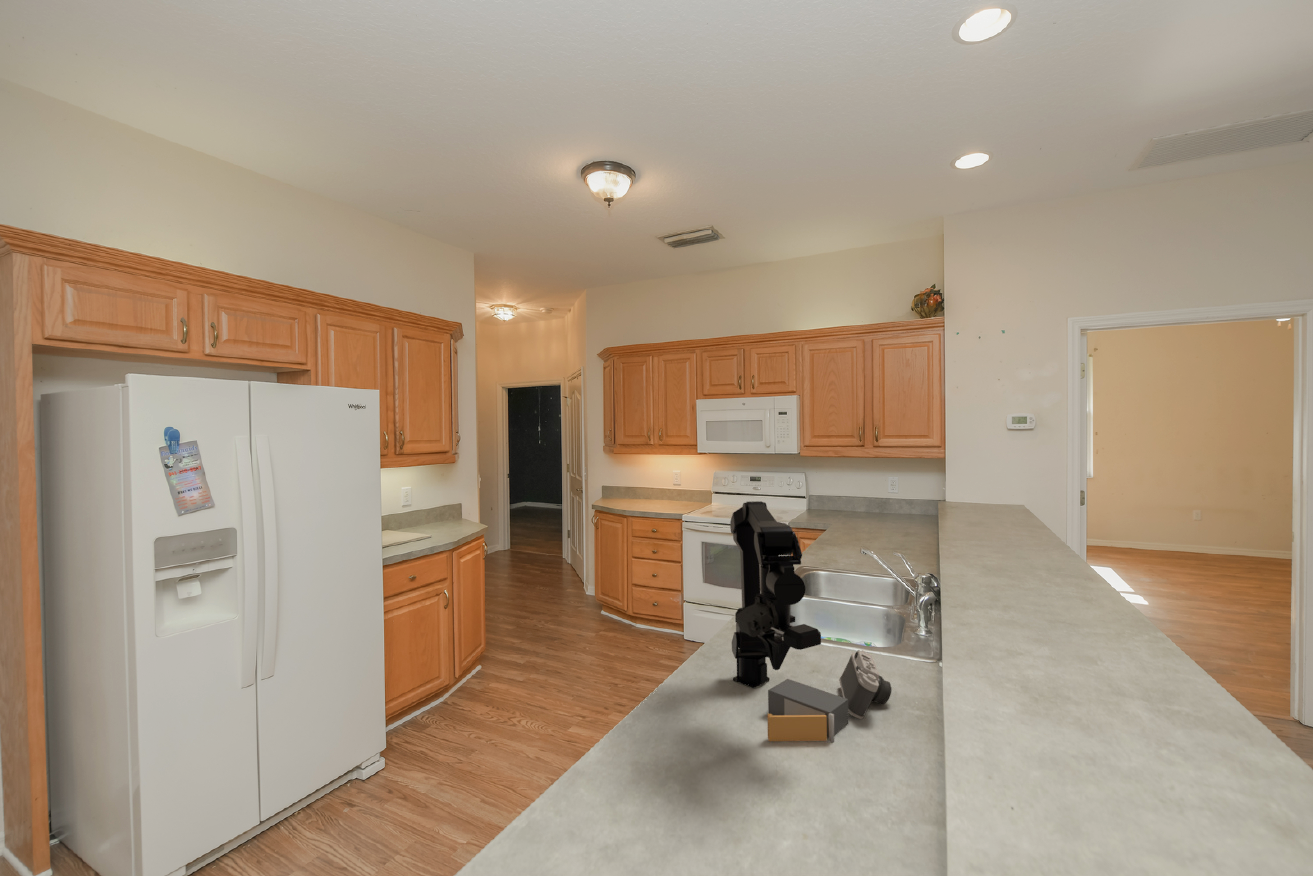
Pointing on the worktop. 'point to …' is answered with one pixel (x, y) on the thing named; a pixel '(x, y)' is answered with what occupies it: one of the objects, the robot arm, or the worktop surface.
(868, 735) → the worktop surface
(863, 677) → the camera
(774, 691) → the case
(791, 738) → the brown rectangular block
